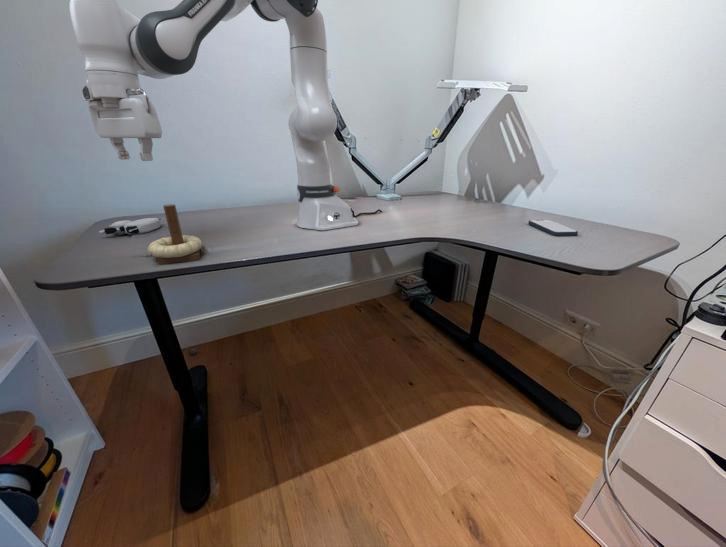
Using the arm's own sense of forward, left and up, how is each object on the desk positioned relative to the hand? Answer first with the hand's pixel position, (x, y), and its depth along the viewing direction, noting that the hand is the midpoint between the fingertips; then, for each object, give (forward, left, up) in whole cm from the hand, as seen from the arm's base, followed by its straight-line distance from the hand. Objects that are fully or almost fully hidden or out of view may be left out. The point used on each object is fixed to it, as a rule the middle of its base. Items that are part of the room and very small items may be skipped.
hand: (135, 160), depth 71 cm
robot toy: (+12, -29, -24) cm, 39 cm away
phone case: (-121, +17, -24) cm, 125 cm away
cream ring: (-4, 0, -21) cm, 21 cm away
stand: (-4, 0, -24) cm, 25 cm away
